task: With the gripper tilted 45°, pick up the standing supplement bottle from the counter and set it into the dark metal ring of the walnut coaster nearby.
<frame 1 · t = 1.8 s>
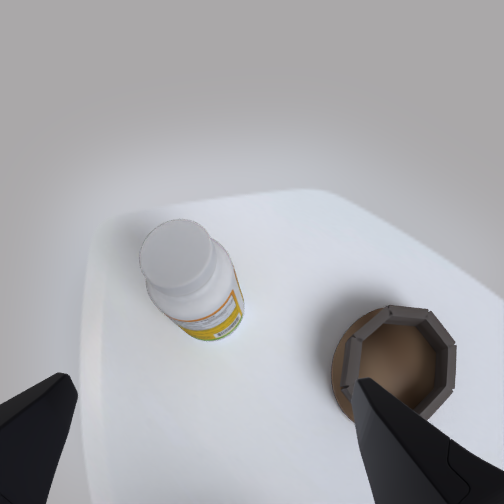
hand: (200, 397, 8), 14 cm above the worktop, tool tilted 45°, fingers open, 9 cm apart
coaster: (393, 370, 20), on the worktop
supplement bottle: (211, 310, 24), on the worktop
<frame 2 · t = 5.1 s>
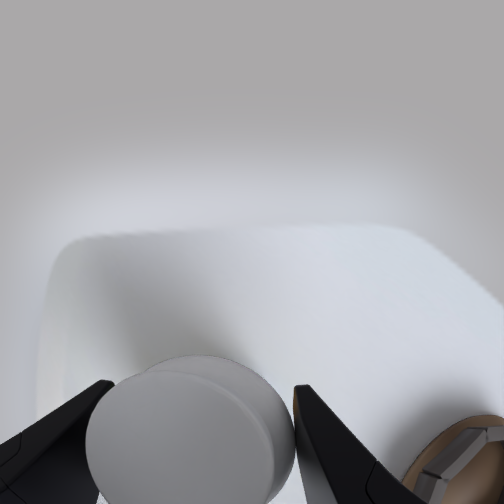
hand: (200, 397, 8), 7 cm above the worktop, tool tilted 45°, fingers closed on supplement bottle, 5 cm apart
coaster: (462, 490, 10), on the worktop
supplement bottle: (228, 421, 13), on the worktop, touching gripper
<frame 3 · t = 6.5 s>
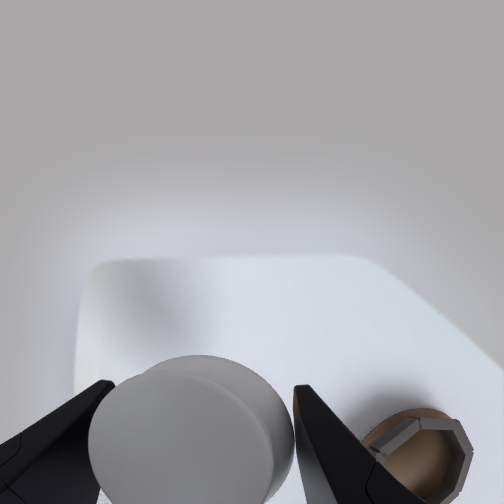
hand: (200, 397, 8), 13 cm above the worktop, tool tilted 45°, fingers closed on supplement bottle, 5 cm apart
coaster: (408, 469, 16), on the worktop
supplement bottle: (228, 420, 14), point 6 cm above the worktop, touching gripper
when the fingers open (10 cm above the worktop, at t = 8.4 s): supplement bottle drops 2 cm, resting on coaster.
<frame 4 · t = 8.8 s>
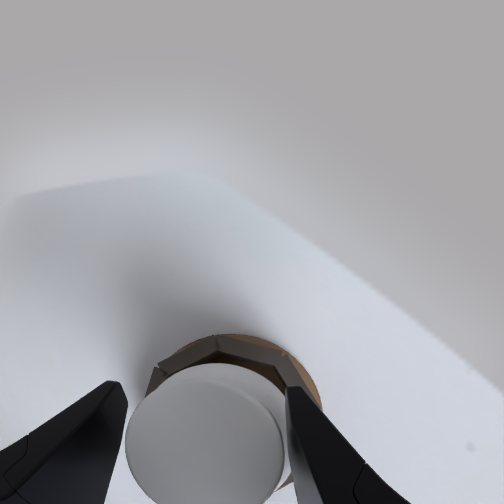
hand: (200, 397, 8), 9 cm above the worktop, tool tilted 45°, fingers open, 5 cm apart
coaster: (231, 419, 15), on the worktop
supplement bottle: (236, 421, 15), resting on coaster, touching gripper
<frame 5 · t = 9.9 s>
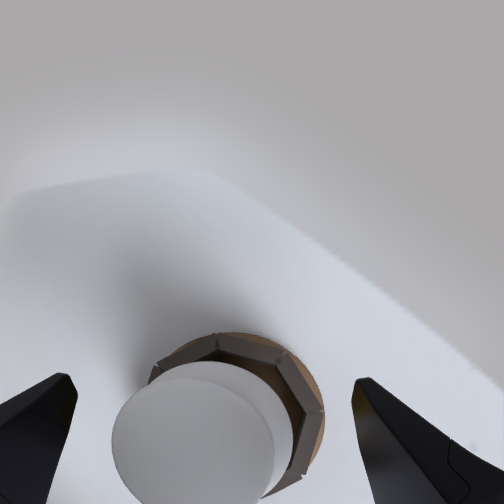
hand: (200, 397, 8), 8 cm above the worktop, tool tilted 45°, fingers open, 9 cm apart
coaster: (232, 419, 15), on the worktop
supplement bottle: (231, 420, 14), resting on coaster
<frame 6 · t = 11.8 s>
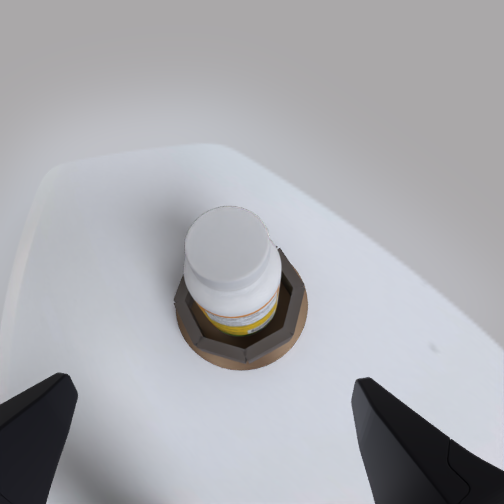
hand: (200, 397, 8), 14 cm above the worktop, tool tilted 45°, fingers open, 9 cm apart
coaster: (241, 305, 23), on the worktop
supplement bottle: (240, 303, 23), resting on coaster
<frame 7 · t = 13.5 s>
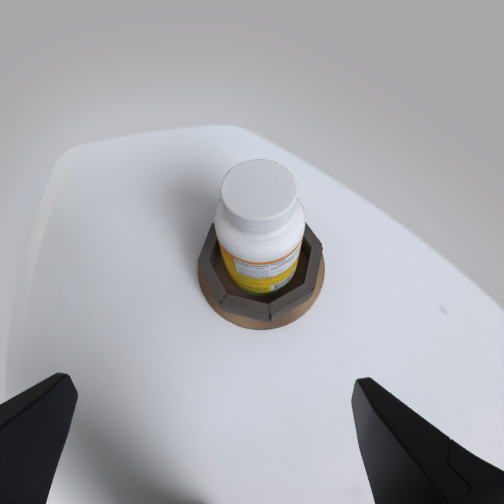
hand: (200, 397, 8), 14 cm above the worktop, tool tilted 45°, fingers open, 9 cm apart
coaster: (261, 268, 24), on the worktop
supplement bottle: (261, 266, 24), resting on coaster
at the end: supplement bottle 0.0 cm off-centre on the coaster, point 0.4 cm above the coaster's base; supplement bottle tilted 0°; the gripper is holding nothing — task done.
